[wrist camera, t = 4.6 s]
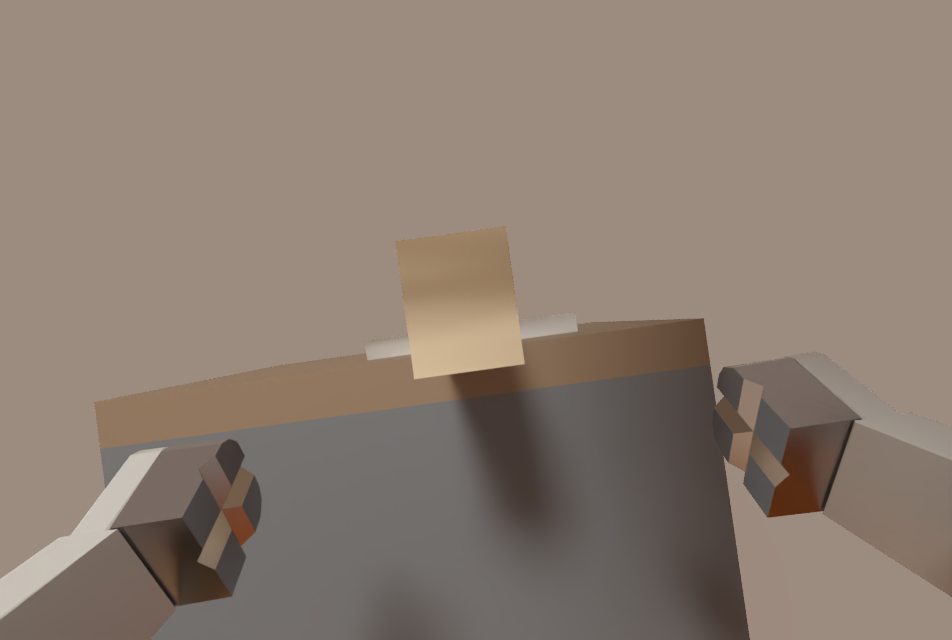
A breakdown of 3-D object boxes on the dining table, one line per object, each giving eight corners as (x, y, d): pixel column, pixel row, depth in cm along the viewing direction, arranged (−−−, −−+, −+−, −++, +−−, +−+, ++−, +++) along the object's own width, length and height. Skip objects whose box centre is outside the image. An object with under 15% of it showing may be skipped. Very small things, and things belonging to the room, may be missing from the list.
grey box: (647, 712, 32) (592, 322, 33) (813, 1085, 17) (703, 318, 17) (331, 756, 32) (280, 365, 33) (192, 1175, 16) (94, 402, 17)
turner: (717, 337, 9) (697, 199, 9) (220, 405, 9) (202, 267, 9) (544, 329, 31) (539, 290, 31) (402, 349, 31) (397, 309, 31)
